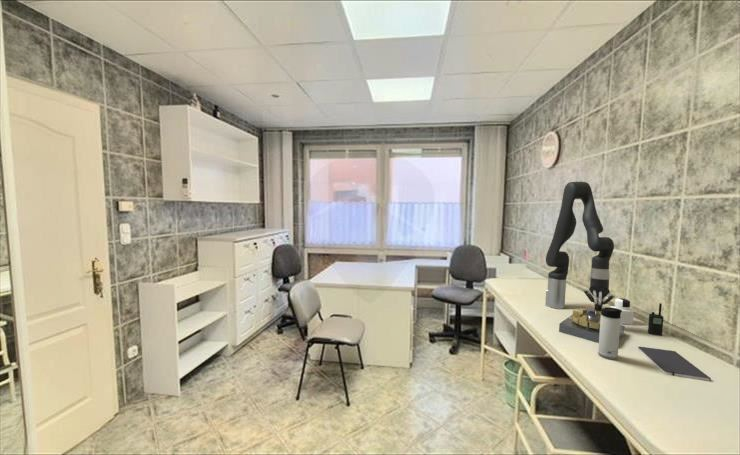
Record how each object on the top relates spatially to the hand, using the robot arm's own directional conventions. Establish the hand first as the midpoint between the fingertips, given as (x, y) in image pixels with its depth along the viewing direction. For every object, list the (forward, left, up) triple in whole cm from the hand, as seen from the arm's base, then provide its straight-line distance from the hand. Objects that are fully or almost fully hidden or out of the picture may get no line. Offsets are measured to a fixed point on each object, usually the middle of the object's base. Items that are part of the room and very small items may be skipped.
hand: (598, 311), depth 155 cm
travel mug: (+11, -34, -8) cm, 36 cm away
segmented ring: (-1, -8, -3) cm, 9 cm away
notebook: (+28, -22, -9) cm, 37 cm away
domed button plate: (0, -12, -8) cm, 14 cm away
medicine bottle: (+6, +17, -8) cm, 20 cm away
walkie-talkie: (+20, +10, -8) cm, 24 cm away
